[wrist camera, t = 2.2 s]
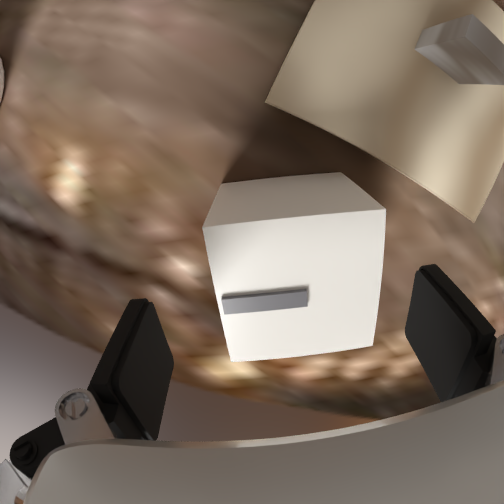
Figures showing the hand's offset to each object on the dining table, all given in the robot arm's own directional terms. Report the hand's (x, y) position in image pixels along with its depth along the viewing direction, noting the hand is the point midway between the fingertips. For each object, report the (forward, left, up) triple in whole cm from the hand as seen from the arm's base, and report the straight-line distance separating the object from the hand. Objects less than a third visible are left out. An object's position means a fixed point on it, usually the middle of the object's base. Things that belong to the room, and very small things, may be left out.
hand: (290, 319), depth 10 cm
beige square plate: (-4, -13, -8) cm, 16 cm away
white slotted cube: (-1, 0, -8) cm, 8 cm away
